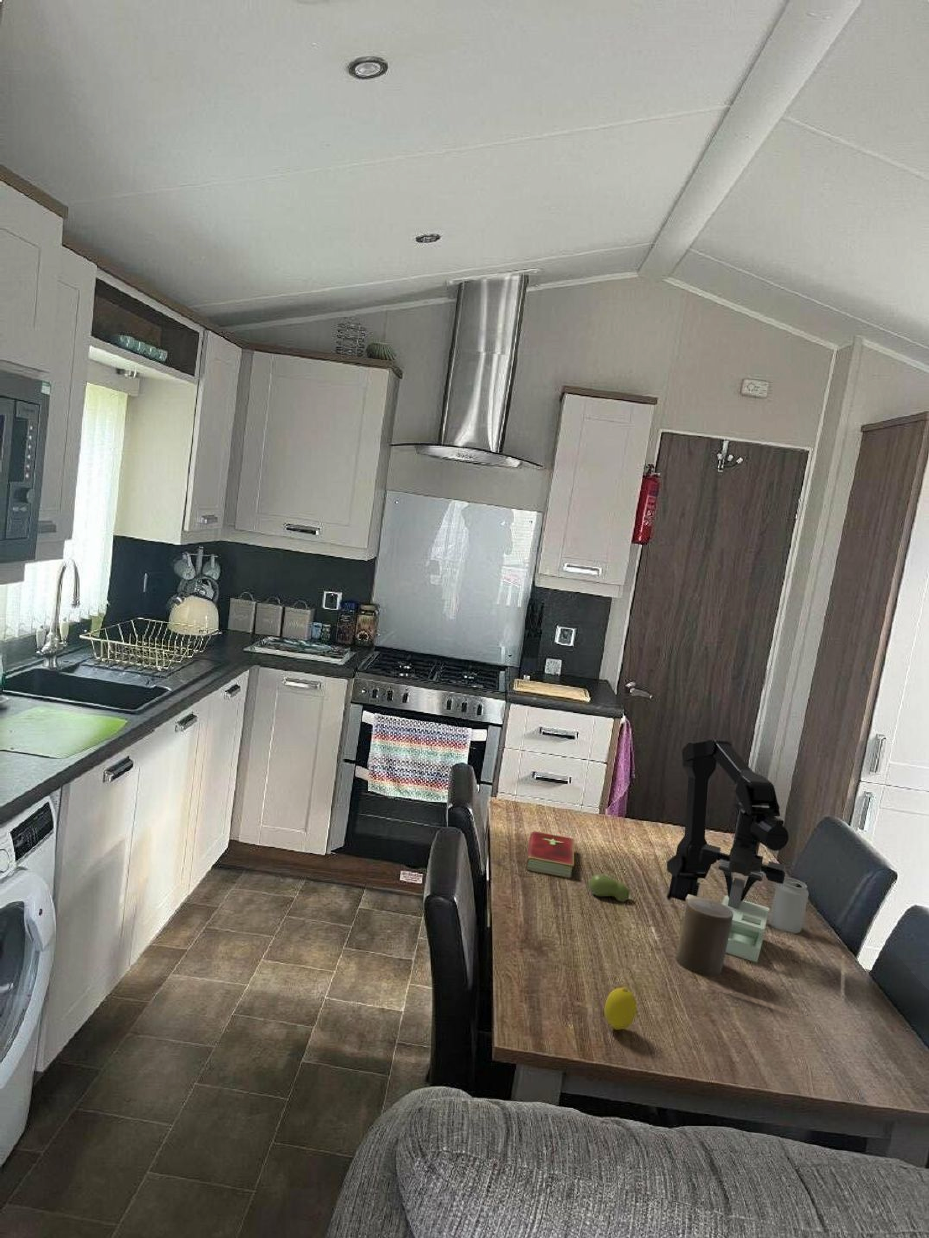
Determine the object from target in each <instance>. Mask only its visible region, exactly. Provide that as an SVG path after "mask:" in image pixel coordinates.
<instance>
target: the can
mask: <svg viewBox="0 0 929 1238" xmlns="http://www.w3.org/2000/svg"><path fill="white" fill-rule="evenodd" d="M809 894H810V892H809V891H808V886H807V884H806V883H805V882H803V881H801V880H798V879H796V878H791V877H785V878H784V882H783V884H780V883H776V885H775V889H774V895H773V900H772V906H771V910H770V915H769V921H768V923H769V924H770V926H771V927H773V928H772V929H775V930H779V931H783V932H786V933H788V934H792V935H797V934H798V933H801V932H802V928H803V923H804V917H805V913H806V907H807V903H808V899H809Z"/></svg>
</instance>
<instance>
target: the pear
mask: <svg viewBox="0 0 929 1238" xmlns="http://www.w3.org/2000/svg"><path fill="white" fill-rule="evenodd" d="M588 885H589V890H590V892H591V893H592V894H593V895H595V896H596V897H609V896H610V897H613V898H614V899H616V900H617V901H619V902H622V903H625V902H626V901H627V899H628V898H629V897H630V892H631V890H630V888H628V887H627V886H626V885H625V884H624V883H622V882H621V881H619V882H618V881H617V880H616V879H614V878H613V877H611V876H608V874H607V875H606V874H603V873H596V874H594V875H593V876H592V877H591V878H590V880H589V884H588Z"/></svg>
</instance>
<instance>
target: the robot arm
mask: <svg viewBox="0 0 929 1238" xmlns="http://www.w3.org/2000/svg"><path fill="white" fill-rule="evenodd" d="M681 757H682V768H683V769H684V772H685V774H686V775H687V780H688V782H687V797H686V806H685V807H686V809H685V825H684V836H683V837H682V839H681V840H680V841H679V842H678V844H677V847H676V853H675V855H674V856H673V857H671V858H670V859H669V860H668V861H666V871H667V872H668V873H669V874H670V875H671V879H670V883H669V888H668V889H669V890H668V892H667V895H666V898H667V899H670V900H671V899H675V900H678V901H682V902H685V900H686V897H687V895H688V894H690V895H693V896H696V897H699V892H700V885H701V882H699V880H700V879H703V880H705V879H706V878H707V875H708V873H709V871H710V869H711V866H712V865H713V864H715V863H717V861H718V863H719V865H718V870H720V871H722V873H723V875H724V879H725V885H726V888H727V889H726V890H727V896H728V897H730V892H731V887H732V883H733V881H734V874H735V873H737V874H739V875H742V876H745V877H747V880H746V881H745V885H744V890H743V893H742V896H741V901H743V900H744V899H745V898H746V896H747V894H748V893H749V891H750V889H751V888H752V886H754V884H755V883H756V882H762V881H763V878H764V875H765V877H766V879H767V880H768V881H770V882H773V883H776V884H777V883H780V884H783V882H784V878H786V877H785V876H786V872H787V867H786V866H785V864H781V863H778V862H774V861H771V860H770V861H769V860H768V864H765V863H763V860H764V856H762V855H759V850H760V845H763V846H764V847H766V848H768V849H769V850H771V851H774V852H777V851H778V852H779V851H780V850H782V849H784V848H785V847H786V846H787V844H788V842H789V831H788V830H787V828H786V827H785V826H784V820H783V819H781V818H779V817H781V812H780V805H779V802H778V798H777V794H776V789H775V786H774V785H773V782H772V781H770V780H769V779H767V777H764V776H763V775H760V774H759V773H756V772H754V771H753V770H752V769H751V768H750V766H749V765H747V763H746V761H744V759H743V758H742V756H740V755H739V754H738V752H737V751H736V750H735V749H734V748H733V746H732V744H731V742H730V741H728V740H726V739H717V738H712V739H708V740H705V741H700V742H692V741H690V742H688V743H686V745H685V746H683V748H682V751H681ZM717 763H718V764H717ZM717 765H719V766H720V767H721V768H722V769H723V771H724V772H725V773H726V774H727V775H728V777H729V779H731V781H732V782H733V783H734V785H735V786H734V792H735V794H736V796H737V798H738V800H739V802H736V804H735V805H734V808H736V809H737V810H739V811H738V817H737V822H736V828H735V832H734V837H733V842H732V847H731V848H730V851H729V854H728V853H724V852H721V849H722V848H721V847H719V846H717V845H711V844H709V843H708V842H707V839H706V826H707V824H706V823H707V812H708V811H707V810H708V799H709V798H708V797H709V796H708V795H709V782H710V778H711V777H712V776H713V774H714V773H715V772H716V769H717Z"/></svg>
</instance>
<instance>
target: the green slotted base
mask: <svg viewBox="0 0 929 1238" xmlns="http://www.w3.org/2000/svg"><path fill="white" fill-rule="evenodd" d="M745 884H746V879H743V878H740V877H736V876H735V877H733V883H732V887H731V892H730V897H728V894H727V895H725V896H724V898H723V900H722V902H721V904H723V905H725V906H727V907H729V908H730V909H732V911H733V919H732V924H733V925H736V926H739V927H743V928H746V929H749V930H752V931H756V932H759V933H762V934H763V933H764V934H765V932H764V929H765V930H766V925H767V920H768V917H769V913H770V907H768V906H767V907H766V906H764V905H760V904H757V903H753V902H750V901H746V900H744V899H743V901H741V896H742V893H743V890H744V887H745ZM742 920H744V921H747V922H751V923H754V924H757V925H760V926H757V925H754V924H750V923H747V922H744V921H742Z"/></svg>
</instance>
